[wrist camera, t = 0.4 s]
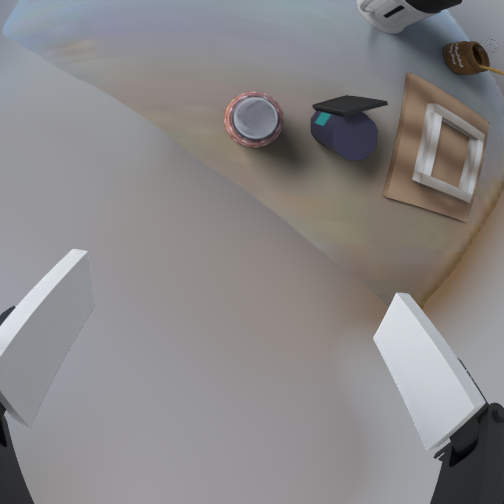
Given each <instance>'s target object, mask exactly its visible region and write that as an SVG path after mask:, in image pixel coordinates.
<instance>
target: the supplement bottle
mask: <svg viewBox="0 0 504 504" xmlns="http://www.w3.org/2000/svg"><path fill="white" fill-rule="evenodd" d="M283 123H284V118H283V113H282V110H281V108H280V106H279V104H278V103H277V102H276V101H275V100H274V99H273V98H272V97H270V96H268V95H267V94H264V93H260V92H247V93H243V94H241V95H239V96H237V97H236V98H234V99H233V100H232V101H231V102H230V103H229V105H228V107H227V108H226V111H225V116H224V124H225V128H226V131H227V133H228V134H229V136H230V137H231V138H232V139H233V140H234V141H235V142H237V143H238V144H240V145H243V146H246V147H251V148H257V147H262V146H265V145H268V144H270V143H271V142H273V141H274V140H275V139H276V138H277V137H278V135H279V134H280V132H281V130H282V127H283Z"/></svg>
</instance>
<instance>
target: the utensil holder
mask: <svg viewBox="0 0 504 504" xmlns="http://www.w3.org/2000/svg"><path fill="white" fill-rule="evenodd" d="M492 40H493V39H492ZM496 44H497V43H496ZM444 58H445V61H446V63H447V65H448V66H449V68H450V69H451V70H452V71H453V72H455V73H456V74H460V75H469V74H478V73H480V72H485V71H487V70H491V71H493V72H495V73H499V74H502V75H504V73H503V72H502V71H499V70H497V69H494V68H491V67H489V66H490V63H489V58H488V55H487V53H486V51H485V49H484V48H483V47H482V46H481V45H480V44H479V43H477V42H473V41H471V42H467V41H460V42H455V43H450V44H448V45H446V46H445V48H444Z"/></svg>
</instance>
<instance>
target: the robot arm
mask: <svg viewBox="0 0 504 504" xmlns="http://www.w3.org/2000/svg"><path fill="white" fill-rule="evenodd" d="M95 307H96V306H95V299H94V293H93V287H92V281H91V273H90V265H89V257H88V252H87V251H83V250H77V249H73V250H71V251H70V252H69V253H68V254H67V255H66V256H65V257H64V258H63V259H62V260H61V261H60V262H59V263H57V265H55V266H54V268H52V269H51V270H50V271H49V272H48V273H47V274H46V275H45V276H44V277H43V278H42V279H41V280H40V282H39V283H38V284H37V285H36V286H35V287H34V288H33V289H32V290H31V291H30V292H29V293H28V294H27V295H26V297H25V298H24V299H23V300H22V301H21V302H20V303H19V304H18V306H17V307H15V306H13V307H11V308H9V309H8V310H6V311H5V312H3V313H2V314H1V315H0V504H34V502H33V500H32V498H31V495H30V493H29V491H28V489H27V486H26V483H25V481H24V478H23V475H22V473H21V470H20V467H19V464H18V461H17V458H16V455H15V451H14V448H13V445H12V440H11V437H10V433H9V429H8V424H7V421H6V418H5V416H4V413H5V411H6V410H7V411H8V413H9V414H10V415H11V416H12V417H13V418H14V419H15V420H17V421H18V422H20V423H22V424H23V425H26V426H27V427H29V428H31V427H32V424H33V422H34V420H35V417H36V415H37V413H38V411H39V408H40V406H41V404H42V402H43V400H44V398H45V396H46V393H47V392H48V389H49V387H50V385H51V383H52V382H53V380H54V378H55V376H56V374H57V372H58V370H59V368H60V366H61V364H62V362H63V361H64V359H65V357H66V355H67V353H68V351H69V350H70V348H71V346H72V344H73V343H74V341H75V339H76V338H77V336H78V334H79V333H80V331H81V329H82V328H83V326H84V324H85V323H86V321H87V320H88V318H89V316H90V315H91V313H92V312H93V310H94V308H95ZM373 340H374V341H375V343H376V345H377V347H378V349H379V351H380V353H381V355H382V357H383V359H384V361H385V362H386V364H387V367H388V369H389V370H390V373H391V375H392V377H393V379H394V381H395V383H396V385H397V387H398V389H399V391H400V393H401V396H402V398H403V400H404V402H405V404H406V406H407V408H408V411H409V413H410V415H411V417H412V420H413V422H414V424H415V426H416V429H417V431H418V434H419V436H420V438H421V441H422V443H423V446H424V448H425V450H426V451H428V450H430V449H433V448H435V447H438V446H440V445H441V444H442V443H443V442H445V441H446V440H447V439H448V438H450V440H451V442H450V443H448V444H447V445H446V446H445V447H443V448H442V449H441V450H440V451H438V452H437V453H436V454H435V456H434V458H437V457H438V456H440V455H441V454H442V453H444V452H445V453H444V454H443V455H442V456H441V457H440V458H439V460H440V461H443V462H442V466H441V470H440V474H439V477H438V481H437V484H436V487H435V491H434V494H433V497H432V500H431V503H430V504H504V408H503V407H502V406H501V405H500V404H498V403H491V404H490V405H489V404H488V403H487V401H486V399H485V398H484V396H483V395H482V393H481V391H480V389H479V388H478V386H477V385H476V383H475V382H474V380H473V378H471V375H470V374H469V372H468V371H466V368H465V366H464V365H463V363H462V362H461V361H460V360H459V359H458V358H457V357H456V355H455V354H454V352H453V351H452V350H451V348H450V347H449V346H448V344H447V343H446V341H445V340H444V338H443V337H442V336H441V334H440V333H439V332H438V330H437V329H436V328H435V326H434V325H433V324H432V322H431V321H430V320H429V319H428V317H427V316H426V315H425V313H424V312H423V311H422V310H421V308H420V307H419V306H418V305H417V303H416V302H415V301H414V300H413V298H412V297H411V296H410V295H409V294H408V293H397V292H396V294H395V297H394V299H393V301H392V303H391V305H390V307H389V309H388V311H387V313H386V315H385V317H384V319H383V321H382V323H381V324H380V326H379V328H378V330H377V332H376V334H375V336H374V338H373Z"/></svg>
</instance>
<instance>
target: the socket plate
mask: <svg viewBox="0 0 504 504" xmlns="http://www.w3.org/2000/svg"><path fill="white" fill-rule="evenodd" d="M488 125H489V122H487V121H486V120H485V119H484V118H482V117H481V116H480V115H478V114H477V113H476V112H474V111H473V110H472V109H470V108H469V107H467V106H466V105H464V104H463V103H461V102H460V101H459V100H457V99H456V98H454V97H452V96H451V95H449V94H448V93H446V92H444V91H443V90H441V89H440V88H438V87H436V86H434V85H433V84H431V83H429V82H428V81H426V80H424V79H422V78H420V77H418V76H416V75H415V74H413V73H406V82H405V89H404V96H403V103H402V109H401V115H400V121H399V127H398V132H397V137H396V142H395V147H394V151H393V156H392V160H391V165H390V169H389V173H388V177H387V181H386V185H385V189H384V192H383V196H385V197H388V198H391V199H395V200H398V201H402V202H405V203H409V204H412V205H415V206H419V207H422V208H425V209H428V210H431V211H435V212H438V213H441V214H444V215H447V216H450V217H452V218H455V219H458V220H461V221H464V222H467V219H468V216H469V213H470V209H471V206H472V203H473V199H474V196H475V192H476V188H477V184H478V180H479V176H480V171H481V167H482V162H483V157H484V152H485V146H486V140H487V133H488Z"/></svg>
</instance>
